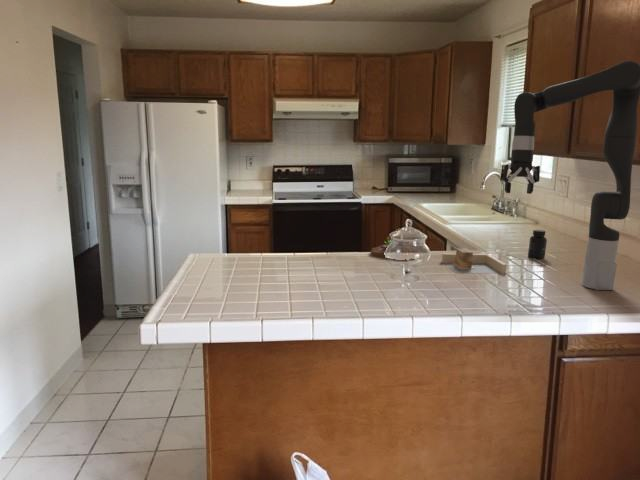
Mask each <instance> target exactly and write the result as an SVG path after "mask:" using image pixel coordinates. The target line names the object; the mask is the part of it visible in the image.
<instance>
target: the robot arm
mask: <svg viewBox="0 0 640 480" xmlns="http://www.w3.org/2000/svg"><path fill="white" fill-rule="evenodd" d="M605 91H613V92H612V93H613V95H612V107H611V108H612V109H611V112H610V116H609V117H608V120H607V121H608V122H607V125H606V129H605V131H604V132H605V133H604V137H603V147H602V154H603V155H604V159H605V160H606V163H607V164H608V166H609V168H610V169H611V171H612V174H613V176H614V179H615V184H616V185H615V186H616V191H600V190H599V191H596V192H595V193H594V195H593V196H592V199H591V202H590V203H591V204H590V218H589V228H588V230H589V231H588V238H587V246H586V253H585V260H584V267H583V268H584V269H583V274H582V281H581V282H582V283H581V285H582V286H583V287H586V288H588V289H592V290H595V291H614V285H615V278H616V273H617V266H618V264H617V262H616V261H617V255H618V249H619V248H618V247H619V242H620V241H619V240H620V235H621V234H620V232H619V231H618V230H616V229H614V228H611V227H609V226H607V225H606V224H605V221H604V220H620V221H621V220H624V219H626V218H627V217H628V215H629V211H630V205H631V187H632V186H631V185H632V170H633V169H632V168H633V162H634V155H635V150H636V141H637V130H638V105H639V99H640V64H639V63H638V62H637V61H633V60H625V61H622V62H619V63H616V64H615V65H613V66H611V67H608V68H606V69H603V70H601V71H598V72H596V73H593V74H589V75H587V76H584V77H580V78H577V79H573V80H570V81H566V82H561V83H558V84H553V85H551V86H548V87H546V88H545V89H544V90H541V91H537V92H535V93H532V92H529V91H523V92H521V93H519V94H518V95H517V96H516V98H515V101H514V106H513V107H514V108H513V109H514V113H513V114H514V122H515V123H514V131H513V140H512V144H511V145H512V146H511V153H510V154H511V155H510V164H506V163H505V164H504V163H503V164H502V165H501V173H500V178H499V179H500V181H503V182H504V192H505V193H506V194H510V193H511V187H512V183H511V182H512V181H513V180H514V179H515V178H516V177H518V178H524V179H526V181H527V187H526V194H528V195H529V194H530V195H531V194H532V193H533V192H534V184H536V183H539V182H540V177H541V176H540V174H541V166H540V165H533V160H534V149H535V134H536V133H535V132H536V122H535V119H534V116H535V115H534V114H535V113H536V112H540V111H544V110H546V109H549V108H551V107H552V108H553V107H557V106H561V105H564V104H568V103H571V102H574V101H577V100H579V99H583V98H584V97H587V96H590V95H592V94H598V93H600V92H605ZM509 170H510V172H509ZM531 171H532V172H531ZM508 172H509V173H508Z"/></svg>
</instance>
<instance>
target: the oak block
mask: <svg viewBox="0 0 640 480" xmlns="http://www.w3.org/2000/svg"><path fill="white" fill-rule="evenodd" d="M455 254H456V261H455V263H456V264H457V265H458V266H460V267H461V268H472V258H473V254H474V252H472V250H469V249H468V248H457V247H456V250H455Z"/></svg>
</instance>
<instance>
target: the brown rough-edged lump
mask: <svg viewBox="0 0 640 480" xmlns="http://www.w3.org/2000/svg"><path fill="white" fill-rule="evenodd" d="M398 230H401V229H400V228H397V229H396V231H398ZM386 240H387V242H386V241H384V243H385V244H381V245H379V246H377V247H372V248H371V249H370V256H372V257H375V258H379V259H380V258H381V259H386V258H385V255H384V252H385V250H386V248H387V246H388V245H390V242H391V240H392V239H391V236H390V235H388V236H387V237H386Z"/></svg>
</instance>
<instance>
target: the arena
mask: <svg viewBox="0 0 640 480" xmlns="http://www.w3.org/2000/svg"><path fill="white" fill-rule="evenodd" d="M455 261H456V253H447V252H446V253H442V254H441V260H440V262H441V263H443V264H444V265H445V266H446V267H448V268H449V269H450V270H452V272H454V273H456V274H504V275H505V274H506V273H507V265H508V264H507V263H505V262H503V261H502V260H500V259H498V258H496V257H494V256H493V255H491V254H489V253H473V258H472V268H461V267H460V266H458V265H457V264H456V263H455Z"/></svg>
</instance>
